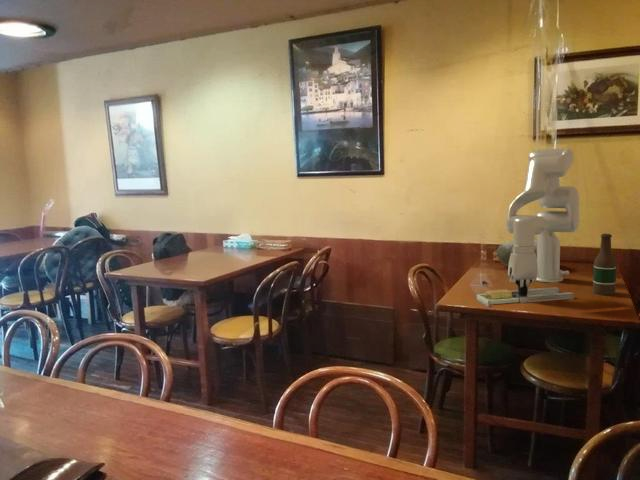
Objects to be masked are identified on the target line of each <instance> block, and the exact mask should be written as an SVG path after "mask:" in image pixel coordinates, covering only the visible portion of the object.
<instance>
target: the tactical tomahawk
mask: <svg viewBox="0 0 640 480" xmlns="http://www.w3.org/2000/svg"><path fill="white" fill-rule="evenodd" d="M481 282H482V286H483V287H484V288H489V286H488V284H487V281H485V280H481Z"/></svg>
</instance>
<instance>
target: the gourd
mask: <svg viewBox="0 0 640 480" xmlns="http://www.w3.org/2000/svg"><path fill="white" fill-rule="evenodd" d="M534 245H535V246H537V238H535V239H534ZM511 253H513V241H507V242H504V243H502V244H500V245H499V246H498V248H497V249H496V256H497V259H498V260H499V262H500V263H501V264H502V265H503V266H505V267H506V268H508V265H509V259H510V255H511ZM534 253H536V258H537V249H536V250H535V252H534Z"/></svg>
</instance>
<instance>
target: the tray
mask: <svg viewBox="0 0 640 480" xmlns="http://www.w3.org/2000/svg"><path fill="white" fill-rule="evenodd" d="M475 300H476V301H477V302H478V303H480V304H482V305H484V306H486V307H488V308H491V307H493V306H492V305H500V304H502V305H503V304H513V303H520V302H519V298H512V299H500V300H488V299H487V293H478V294H477V293H476V294H475Z"/></svg>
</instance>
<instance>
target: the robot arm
mask: <svg viewBox="0 0 640 480" xmlns="http://www.w3.org/2000/svg"><path fill="white" fill-rule="evenodd" d="M574 159H575V154H574V152H573V150H572V149H571V148H569V147H568V148H567V147H565V148H563V147H562V148H544V149H536V150H531V152H529V153H528V164H527V170H526V176H525V180H524V187H523V190H522V192H520V193H519V194H518V195H517V196H516V197H515V198H514V199H513V200H512V201H511V203H510V205H509V207H508V209H507V215H506V221H505V228H506V231H507V232H508V233H510V234H512V238H513V253H511V255H510V259H509V265H508V267H507V276H508V278H509V280H508V281H509V283H514V284H515V285H516V286H517V290H518V294H519V296H527V292H528V289H529V287H530V285H531V284H532V283H533V282H541V283H560V282H563V281H564V278H563V276H569V275H570V271H569V270H562V269H560V265H561V262H560V259H561V258H560V257H561V240H560V239H559V237H558V236H557V235H556V233H575V232H577V231H578V229H579V226H580V196H579V195H580V194H579V191H578V189H577V188H576V187H574V186H571V185H569V186H568V185H567V186H566V185H565V186H563V185H562V186H561V185H560V178H564V177H565V176H566V175H567V174H568V172H569V171H570V169H571V168H572V166H573V165H574V164H573V163H574ZM536 201H538V204H539V206H541V208H546V210H541V211H539V212H537V213H536V215H534V214H533V215H531V214H529V215H527V214H518V212H519V210H520V209H521V208H522V207H524V206H526V205H528V204H531V203H533V202H536ZM547 209H565V210H547ZM535 235H536V236H535ZM535 237H536V238H535ZM534 239H537V246H535V245H534ZM536 249H537V258H536V253H534V252H535V250H536Z"/></svg>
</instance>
